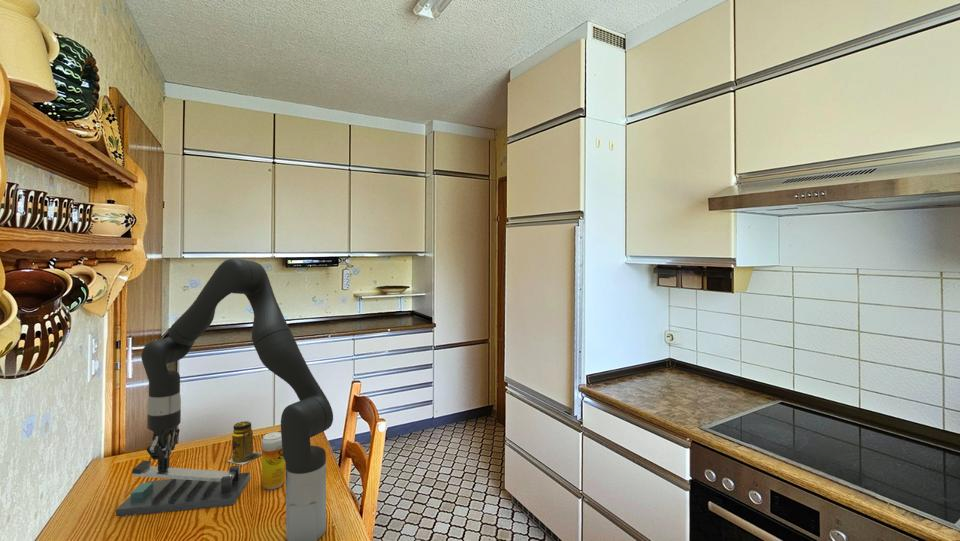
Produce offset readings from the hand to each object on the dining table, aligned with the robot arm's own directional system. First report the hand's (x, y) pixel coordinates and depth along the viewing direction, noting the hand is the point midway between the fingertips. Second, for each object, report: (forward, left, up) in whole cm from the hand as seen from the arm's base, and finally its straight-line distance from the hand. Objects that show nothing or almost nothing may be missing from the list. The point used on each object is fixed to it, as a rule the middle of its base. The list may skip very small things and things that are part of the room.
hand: (163, 470), depth 119 cm
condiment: (+22, -14, -8) cm, 27 cm away
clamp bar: (0, -6, -2) cm, 6 cm away
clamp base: (0, -6, -8) cm, 10 cm away
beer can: (+2, -28, -8) cm, 29 cm away
